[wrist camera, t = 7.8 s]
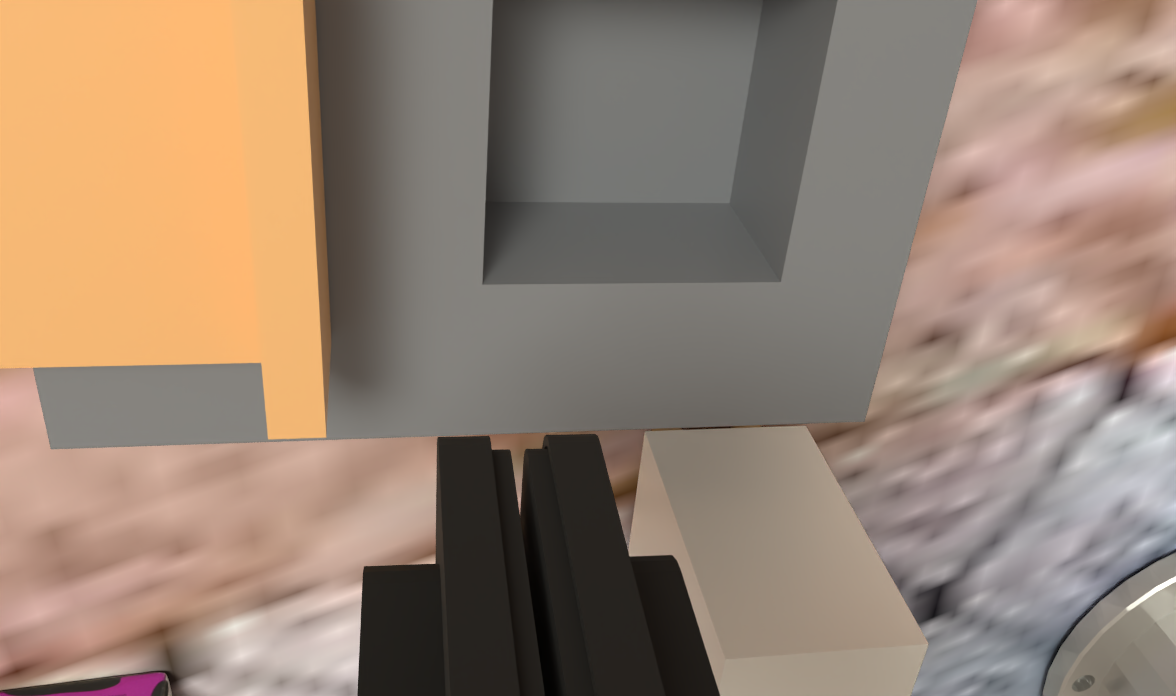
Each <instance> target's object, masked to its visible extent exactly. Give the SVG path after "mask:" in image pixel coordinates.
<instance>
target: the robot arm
mask: <svg viewBox="0 0 1176 696" xmlns="http://www.w3.org/2000/svg"><path fill="white" fill-rule="evenodd" d="M358 696H720V693H719V690H718V687H717V684H716V681H715V677H714V674H713V671H712V668H711V665H710V661H709V658H708V655H707V652H706V649H705V645H704V642H703V639H702V636H701V633H700V629H699V626H698V623H697V620H696V617H695V613H694V610H693V607H692V604H691V601H690V598H689V594H688V591H687V588H686V585H685V582H684V578H683V575H682V572H681V569H680V567H679V564H678V562H677V560H676V559H675V558H674V557H673V555H656V556H630V557H629V553H628V549H627V545H626V541H625V537H624V534H623V530H622V526H621V522H620V518H619V514H618V510H617V507H616V503H615V499H614V495H613V491H612V487H611V483H610V480H609V476H608V472H607V468H606V464H605V460H604V456H603V453H602V449H601V445H600V441H599V438H598V436H597V435H596V434H578V435H546V436H545V437H544V441H543V448H542V449H526V450H525V454H524V464H523V480H522V496H521V512H520V514H519V507H518V500H517V493H516V486H515V479H514V472H513V464H512V457H511V452H510V450H492V449H491V442H490V437H489V436H472V437H438V439H437V492H436V564H418V565H392V566H365V567H364V570H363V585H362V608H361V630H360V653H359V675H358ZM1043 696H1176V552H1175V553H1173V554H1171V555H1169V556H1167V557H1165V558H1163V559H1161V560H1159V561H1156V562H1155V563H1153V564H1151V565H1150V566H1148V567H1147V568H1145V569H1143V570H1142V571H1140V572H1139V573H1137V574H1135V575H1134V576H1132V577H1131V578H1129V579H1127V580H1126V581H1125V582H1123V583H1122V584H1121V585H1120V586H1118V587H1117V588H1116V589H1114V590H1113V591H1112V592H1111V593H1109V594H1108V595H1107V596H1106V597H1104V598H1103V599H1102V600H1101V601H1099V602H1098V603H1097V604H1096V605H1095V606H1094V607H1093V609H1092V610H1091V611H1090V612H1089V613H1088V614H1087V615H1086V616H1085V617H1084V618H1083V619H1082V620H1081V621H1080V622H1079V623H1078V624H1077V625H1076V626H1075V628H1074V629H1073V631H1072V632H1071V633H1070V635H1069V636H1068V637H1067V639H1066V640H1065V641H1064V643H1063V644H1062V645H1061V647H1060V649H1059V651H1058V653H1057V655H1056V657H1055V659H1054V661H1053V663H1052V665H1051V667H1050V669H1049V671H1048V674H1047V678H1046V682H1045V686H1044V690H1043Z"/></svg>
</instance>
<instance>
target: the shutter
mask: <svg viewBox="0 0 1176 696" xmlns="http://www.w3.org/2000/svg"><path fill="white" fill-rule="evenodd" d="M330 356H331V322H330V302H329V281H328V260H327V239H326V218H325V197H324V176H323V155H322V135H321V114H320V93H319V72H318V51H317V30H316V9H315V0H0V368H39V367H87V366H134V365H182V364H230V363H261V366H262V377H263V388H264V399H265V411H266V422H267V433H268V440H269V439H298V438H326V433H327V413H328V394H329V375H330Z"/></svg>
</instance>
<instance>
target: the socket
mask: <svg viewBox="0 0 1176 696" xmlns="http://www.w3.org/2000/svg"><path fill="white" fill-rule="evenodd" d="M976 3H977V0H315V9H316V30H317V51H318V72H319V93H320V114H321V135H322V155H323V176H324V197H325V218H326V239H327V260H328V281H329V302H330V322H331V356H330V375H329V394H328V413H327V433H326V438H298V439H269V440H268V433H267V422H266V411H265V399H264V388H263V377H262V366H261V363H230V364H182V365H134V366H87V367H39V368H33V370H34V375H35V380H36V384H37V389H38V393H39V398H40V402H41V407H42V411H43V416H44V420H45V425H46V429H47V434H48V438H49V443H50V447H51V449H73V448H103V447H132V446H161V445H191V444H220V443H249V442H279V441H308V440H338V439H367V438H396V437H426V436H455V435H485V434H514V433H543V432H573V431H602V430H631V429H661V428H690V427H720V426H749V425H778V424H808V423H837V422H865V418H866V414H867V410H868V407H869V403H870V399H871V395H872V392H873V388H874V384H875V380H876V377H877V373H878V369H879V366H880V362H881V358H882V354H883V351H884V347H885V343H886V339H887V336H888V332H889V328H890V324H891V321H892V317H893V313H894V310H895V306H896V302H897V298H898V295H899V291H900V287H901V283H902V280H903V276H904V272H905V268H906V265H907V261H908V257H909V254H910V250H911V246H912V242H913V239H914V235H915V231H916V227H917V224H918V220H919V216H920V212H921V209H922V205H923V201H924V198H925V194H926V190H927V186H928V183H929V179H930V175H931V171H932V168H933V164H934V160H935V156H936V153H937V149H938V145H939V142H940V138H941V134H942V130H943V127H944V123H945V119H946V115H947V112H948V108H949V104H950V100H951V97H952V93H953V89H954V86H955V82H956V78H957V74H958V71H959V67H960V63H961V59H962V56H963V52H964V48H965V44H966V41H967V37H968V33H969V30H970V26H971V22H972V18H973V15H974V11H975V7H976Z"/></svg>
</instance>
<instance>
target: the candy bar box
mask: <svg viewBox="0 0 1176 696" xmlns="http://www.w3.org/2000/svg"><path fill="white" fill-rule="evenodd" d="M0 696H172V692H171V688H170V683H169V679H168V677H167V675H166V673H162V672H150V673H142V674H134V675H126V676H117V677H109V678H101V679H93V680H85V681H77V682H70V683H62V684H55V685H48V686H38V687H30V688H23V689H16V690H8V691H0Z"/></svg>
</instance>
